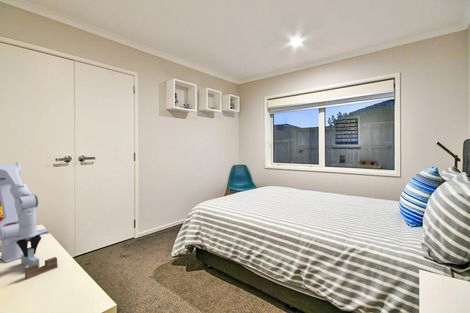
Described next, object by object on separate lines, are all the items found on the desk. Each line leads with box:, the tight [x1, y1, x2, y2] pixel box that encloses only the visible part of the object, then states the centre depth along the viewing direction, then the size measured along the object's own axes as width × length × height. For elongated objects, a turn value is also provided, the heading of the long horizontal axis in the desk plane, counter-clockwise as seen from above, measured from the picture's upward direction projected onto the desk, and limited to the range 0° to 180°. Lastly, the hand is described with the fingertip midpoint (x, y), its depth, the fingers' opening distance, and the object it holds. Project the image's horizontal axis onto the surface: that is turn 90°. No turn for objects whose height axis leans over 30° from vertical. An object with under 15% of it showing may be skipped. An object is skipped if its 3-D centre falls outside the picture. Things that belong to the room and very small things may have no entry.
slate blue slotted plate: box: [20, 246, 40, 268], centre depth 99 cm, size 12×2×8 cm, turn 60°
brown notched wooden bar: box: [24, 256, 58, 280], centre depth 94 cm, size 2×10×4 cm, turn 151°
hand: (29, 255), depth 99 cm, fingers closed on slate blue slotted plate, 2 cm apart
